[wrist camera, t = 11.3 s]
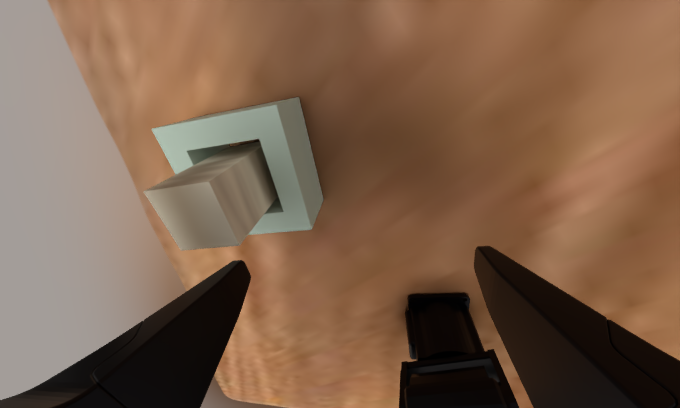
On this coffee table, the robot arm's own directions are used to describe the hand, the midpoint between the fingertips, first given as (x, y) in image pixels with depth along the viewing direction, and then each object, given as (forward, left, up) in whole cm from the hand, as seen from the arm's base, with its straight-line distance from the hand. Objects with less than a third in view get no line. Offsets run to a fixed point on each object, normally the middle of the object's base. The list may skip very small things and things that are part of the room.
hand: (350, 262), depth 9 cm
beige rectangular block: (+9, -1, -13) cm, 16 cm away
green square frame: (+9, -1, -13) cm, 16 cm away
